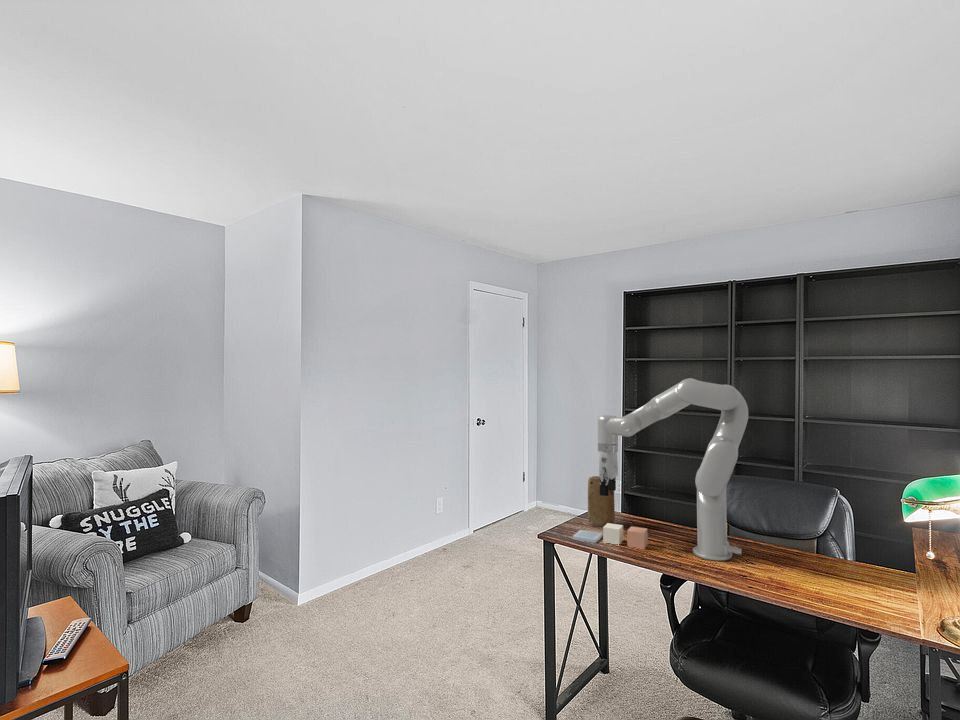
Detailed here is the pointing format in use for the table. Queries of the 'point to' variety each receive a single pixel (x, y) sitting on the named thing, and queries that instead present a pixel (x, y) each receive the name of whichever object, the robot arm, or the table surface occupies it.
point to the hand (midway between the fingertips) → (607, 492)
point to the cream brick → (612, 533)
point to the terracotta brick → (637, 537)
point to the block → (599, 504)
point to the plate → (587, 536)
